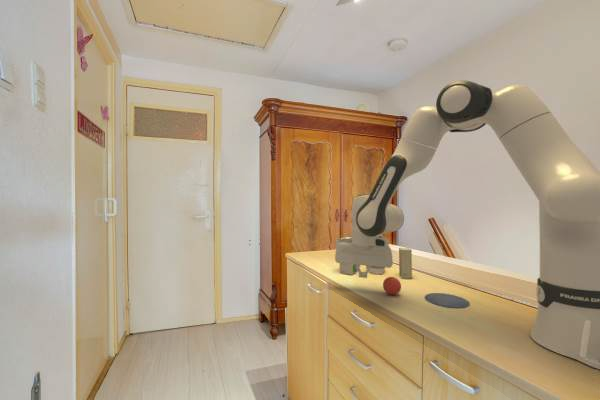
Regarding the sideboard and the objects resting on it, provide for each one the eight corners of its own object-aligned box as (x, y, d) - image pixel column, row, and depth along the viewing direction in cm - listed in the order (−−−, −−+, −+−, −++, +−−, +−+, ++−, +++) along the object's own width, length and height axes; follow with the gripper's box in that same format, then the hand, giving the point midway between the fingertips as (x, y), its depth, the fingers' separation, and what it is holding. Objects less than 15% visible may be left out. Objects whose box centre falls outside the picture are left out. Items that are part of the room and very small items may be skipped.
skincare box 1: (352, 275, 120) (352, 239, 120) (338, 273, 123) (338, 238, 123) (358, 271, 127) (359, 237, 127) (345, 269, 130) (345, 236, 130)
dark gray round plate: (464, 296, 95) (464, 295, 95) (474, 310, 82) (474, 309, 82) (423, 291, 99) (423, 291, 99) (426, 304, 87) (426, 304, 87)
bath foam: (367, 270, 129) (367, 227, 129) (382, 270, 128) (382, 227, 128) (370, 274, 122) (370, 229, 122) (386, 274, 121) (386, 229, 121)
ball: (400, 292, 98) (401, 275, 98) (401, 298, 92) (401, 280, 92) (383, 290, 100) (383, 274, 100) (382, 296, 94) (382, 278, 94)
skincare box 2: (412, 279, 115) (412, 250, 115) (400, 278, 115) (401, 249, 115) (409, 275, 121) (409, 247, 121) (398, 274, 122) (398, 247, 122)
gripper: (333, 238, 100) (332, 276, 100) (392, 242, 93) (392, 283, 93) (336, 236, 106) (336, 272, 106) (393, 239, 99) (392, 277, 99)
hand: (362, 277), depth 100 cm, fingers closed
